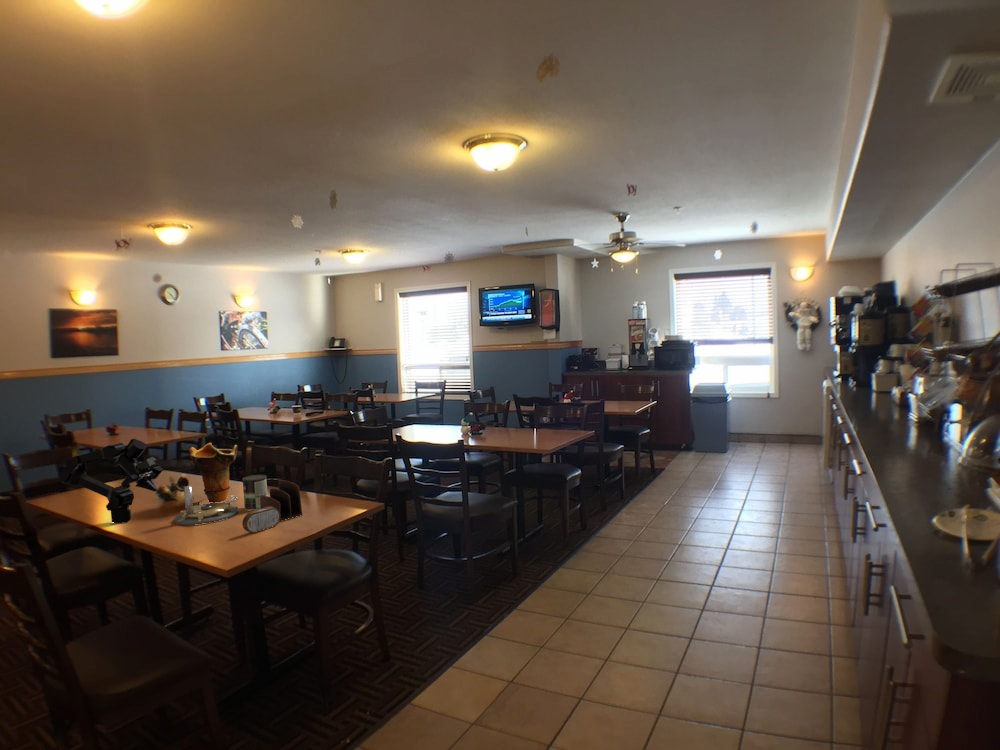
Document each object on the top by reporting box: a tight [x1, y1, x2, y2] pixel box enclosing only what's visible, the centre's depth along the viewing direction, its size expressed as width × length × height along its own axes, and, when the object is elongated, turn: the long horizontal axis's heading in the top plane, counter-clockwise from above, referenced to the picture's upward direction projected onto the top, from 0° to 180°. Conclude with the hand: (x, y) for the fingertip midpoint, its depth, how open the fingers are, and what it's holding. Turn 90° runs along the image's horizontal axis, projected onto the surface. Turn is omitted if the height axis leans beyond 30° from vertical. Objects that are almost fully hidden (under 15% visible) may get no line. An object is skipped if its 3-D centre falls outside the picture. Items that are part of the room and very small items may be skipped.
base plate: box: [174, 504, 239, 526], centre depth 260 cm, size 25×25×2 cm
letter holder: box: [260, 479, 303, 522], centre depth 257 cm, size 10×20×14 cm, turn 45°
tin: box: [242, 507, 280, 534], centre depth 237 cm, size 15×3×8 cm, turn 141°
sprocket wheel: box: [179, 485, 234, 519], centre depth 259 cm, size 21×21×13 cm
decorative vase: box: [189, 442, 238, 505], centre depth 285 cm, size 21×23×28 cm
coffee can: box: [242, 474, 269, 511], centre depth 270 cm, size 10×10×14 cm
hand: (156, 490), depth 254 cm, fingers closed
